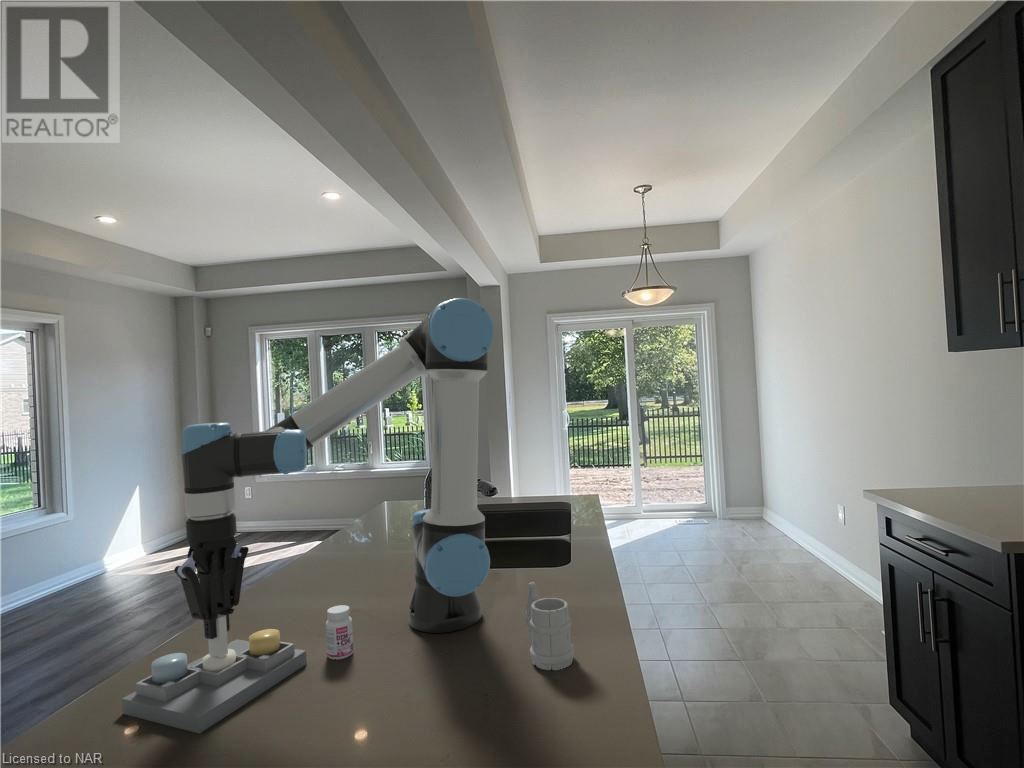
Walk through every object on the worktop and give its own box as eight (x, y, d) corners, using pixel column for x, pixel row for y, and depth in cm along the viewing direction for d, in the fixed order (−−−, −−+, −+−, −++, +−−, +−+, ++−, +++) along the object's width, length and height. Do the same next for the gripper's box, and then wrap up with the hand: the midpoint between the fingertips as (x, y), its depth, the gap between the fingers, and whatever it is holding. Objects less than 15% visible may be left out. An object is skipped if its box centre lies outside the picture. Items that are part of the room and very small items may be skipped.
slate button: (194, 669, 97) (194, 655, 97) (166, 684, 92) (165, 669, 92) (173, 665, 99) (172, 651, 99) (144, 680, 94) (144, 665, 94)
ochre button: (286, 644, 105) (285, 630, 105) (264, 656, 100) (263, 642, 100) (265, 640, 107) (264, 627, 107) (242, 653, 102) (242, 639, 102)
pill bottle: (339, 662, 106) (336, 615, 106) (321, 657, 109) (319, 611, 109) (359, 651, 110) (356, 606, 110) (341, 646, 113) (339, 602, 113)
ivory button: (242, 665, 101) (242, 651, 101) (218, 679, 96) (217, 664, 96) (221, 661, 103) (220, 647, 103) (196, 674, 98) (195, 660, 98)
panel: (306, 663, 106) (305, 640, 106) (199, 733, 86) (197, 704, 86) (237, 651, 113) (236, 629, 113) (122, 713, 93) (121, 687, 93)
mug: (545, 676, 97) (541, 603, 97) (511, 649, 108) (507, 584, 108) (583, 663, 101) (579, 593, 101) (547, 638, 111) (543, 575, 111)
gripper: (227, 505, 107) (234, 635, 107) (159, 523, 95) (167, 669, 95) (258, 507, 104) (265, 640, 104) (192, 525, 92) (200, 676, 92)
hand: (218, 654), depth 99 cm, fingers closed
